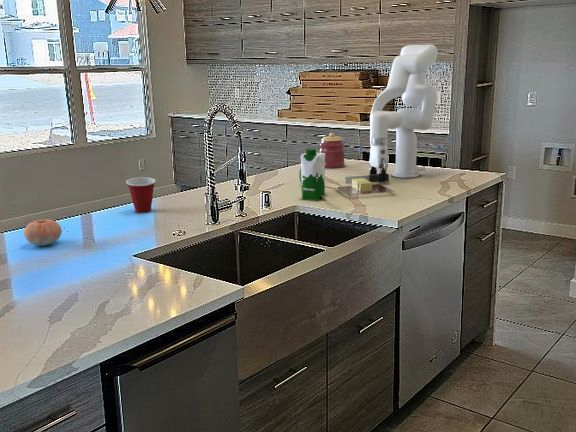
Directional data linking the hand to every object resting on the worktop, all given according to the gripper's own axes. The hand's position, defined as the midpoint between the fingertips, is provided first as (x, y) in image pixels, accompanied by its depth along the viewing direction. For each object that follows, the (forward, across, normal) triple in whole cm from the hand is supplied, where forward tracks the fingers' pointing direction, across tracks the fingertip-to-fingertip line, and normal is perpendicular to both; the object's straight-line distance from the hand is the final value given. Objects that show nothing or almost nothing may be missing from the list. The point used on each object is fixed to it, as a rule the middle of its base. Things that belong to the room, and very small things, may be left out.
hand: (377, 180), depth 260 cm
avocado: (+3, +8, +30) cm, 31 cm away
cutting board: (+2, -14, +12) cm, 18 cm away
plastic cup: (+4, -15, +102) cm, 103 cm away
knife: (+2, 0, +5) cm, 5 cm away
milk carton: (+3, -16, +34) cm, 38 cm away
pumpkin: (+5, -48, +132) cm, 141 cm away
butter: (+1, -11, +12) cm, 17 cm away
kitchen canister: (+2, +51, +4) cm, 52 cm away
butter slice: (+1, -17, +12) cm, 21 cm away
